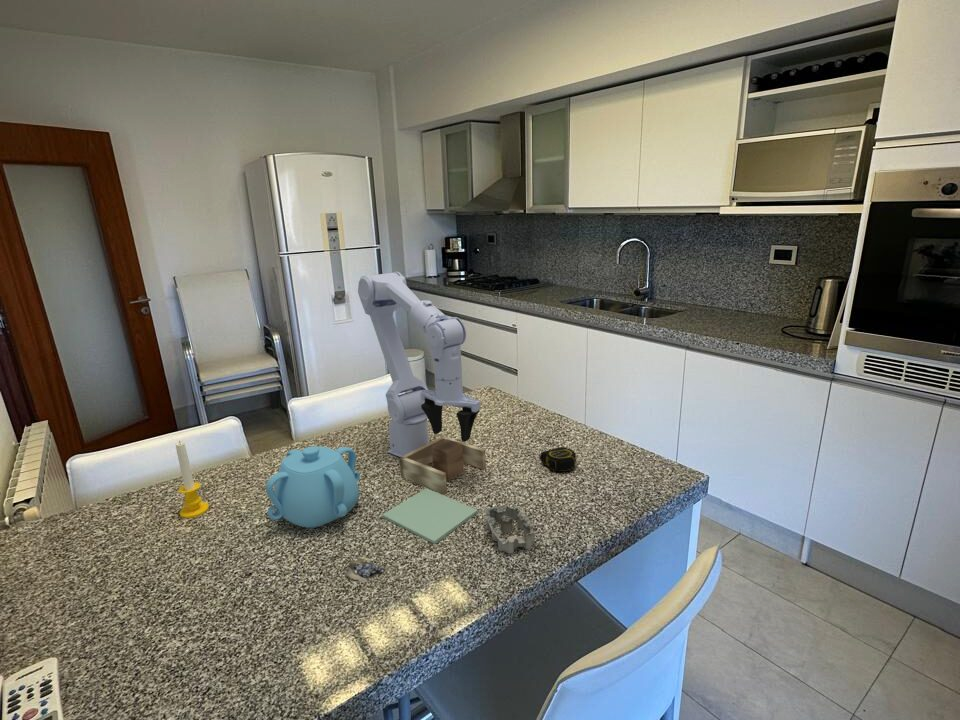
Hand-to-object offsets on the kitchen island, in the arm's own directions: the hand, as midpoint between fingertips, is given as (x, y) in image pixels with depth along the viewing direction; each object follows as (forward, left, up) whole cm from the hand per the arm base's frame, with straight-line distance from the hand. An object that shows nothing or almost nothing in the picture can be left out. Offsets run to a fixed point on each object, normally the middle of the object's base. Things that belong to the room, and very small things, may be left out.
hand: (451, 436), depth 110 cm
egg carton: (+23, -10, -10) cm, 27 cm away
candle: (-33, -41, -10) cm, 54 cm away
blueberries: (+10, -31, -10) cm, 34 cm away
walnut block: (-1, 0, -9) cm, 9 cm away
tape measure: (+17, +17, -10) cm, 25 cm away
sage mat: (+7, -14, -9) cm, 18 cm away
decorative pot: (-12, -26, -10) cm, 31 cm away
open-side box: (-2, 0, -9) cm, 10 cm away
